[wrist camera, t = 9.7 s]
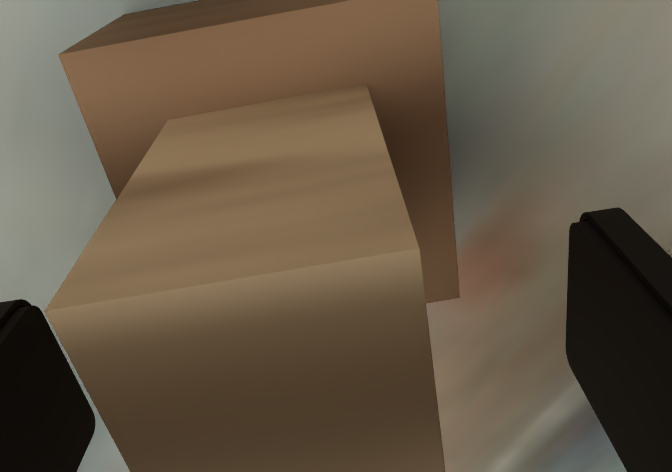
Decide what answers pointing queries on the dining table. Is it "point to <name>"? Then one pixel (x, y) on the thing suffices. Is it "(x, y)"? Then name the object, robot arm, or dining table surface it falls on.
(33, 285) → the dining table surface
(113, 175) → the walnut block
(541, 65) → the dining table surface
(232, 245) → the oak block
